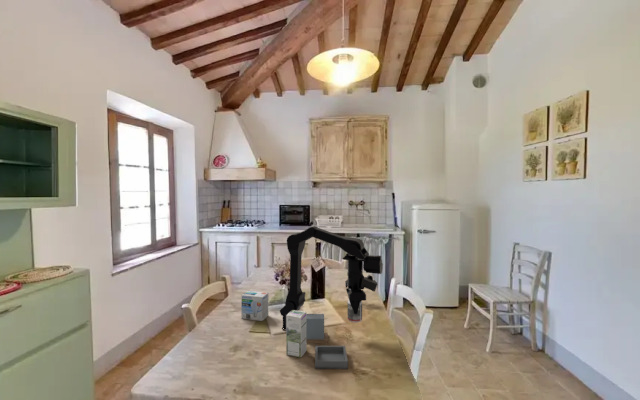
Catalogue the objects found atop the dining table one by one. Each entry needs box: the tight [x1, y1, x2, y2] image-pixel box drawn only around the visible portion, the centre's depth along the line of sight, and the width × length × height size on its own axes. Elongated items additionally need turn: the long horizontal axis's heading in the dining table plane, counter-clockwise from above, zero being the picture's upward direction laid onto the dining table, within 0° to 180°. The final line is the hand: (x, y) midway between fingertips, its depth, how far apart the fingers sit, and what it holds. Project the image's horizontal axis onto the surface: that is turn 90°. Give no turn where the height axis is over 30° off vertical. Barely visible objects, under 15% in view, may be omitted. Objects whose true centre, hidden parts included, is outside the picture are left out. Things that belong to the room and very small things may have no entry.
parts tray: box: [314, 345, 349, 370], centre depth 113 cm, size 11×11×2 cm
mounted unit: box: [306, 313, 329, 344], centre depth 129 cm, size 11×7×9 cm, turn 90°
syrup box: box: [285, 310, 308, 358], centre depth 117 cm, size 6×6×14 cm
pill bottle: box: [347, 299, 363, 323], centre depth 129 cm, size 6×6×10 cm
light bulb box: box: [240, 290, 269, 322], centre depth 150 cm, size 11×7×11 cm, turn 74°
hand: (354, 311), depth 129 cm, fingers closed on pill bottle, 6 cm apart
